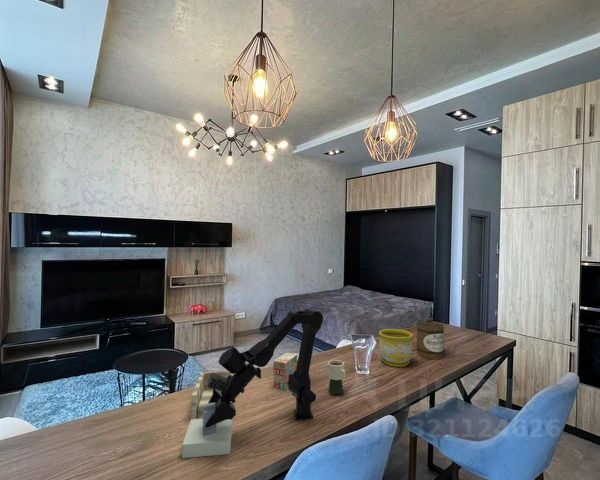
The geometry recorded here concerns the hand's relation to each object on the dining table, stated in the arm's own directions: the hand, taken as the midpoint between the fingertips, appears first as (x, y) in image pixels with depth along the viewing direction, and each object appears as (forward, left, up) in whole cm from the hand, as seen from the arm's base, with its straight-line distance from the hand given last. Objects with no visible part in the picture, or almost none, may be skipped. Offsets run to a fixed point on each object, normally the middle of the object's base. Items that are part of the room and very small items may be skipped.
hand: (205, 419), depth 103 cm
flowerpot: (+58, -93, -8) cm, 110 cm away
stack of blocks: (+44, -33, -8) cm, 56 cm away
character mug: (+28, -51, -8) cm, 59 cm away
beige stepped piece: (+25, 0, -8) cm, 26 cm away
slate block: (0, -1, -4) cm, 4 cm away
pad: (0, -1, -8) cm, 8 cm away
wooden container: (+67, -119, -8) cm, 137 cm away
